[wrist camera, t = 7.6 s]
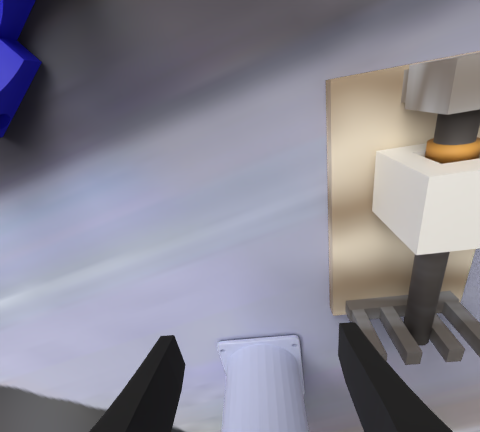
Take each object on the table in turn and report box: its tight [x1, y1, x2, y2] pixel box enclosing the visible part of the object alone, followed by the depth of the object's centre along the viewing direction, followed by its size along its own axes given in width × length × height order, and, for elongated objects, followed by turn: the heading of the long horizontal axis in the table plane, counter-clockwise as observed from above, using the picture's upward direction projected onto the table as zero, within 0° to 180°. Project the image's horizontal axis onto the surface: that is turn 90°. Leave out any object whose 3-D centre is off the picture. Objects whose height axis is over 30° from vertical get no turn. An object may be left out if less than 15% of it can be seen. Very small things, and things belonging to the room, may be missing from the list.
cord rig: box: [326, 51, 480, 365], centre depth 15 cm, size 18×10×6 cm, turn 10°
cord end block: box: [372, 143, 480, 255], centre depth 13 cm, size 4×5×5 cm
